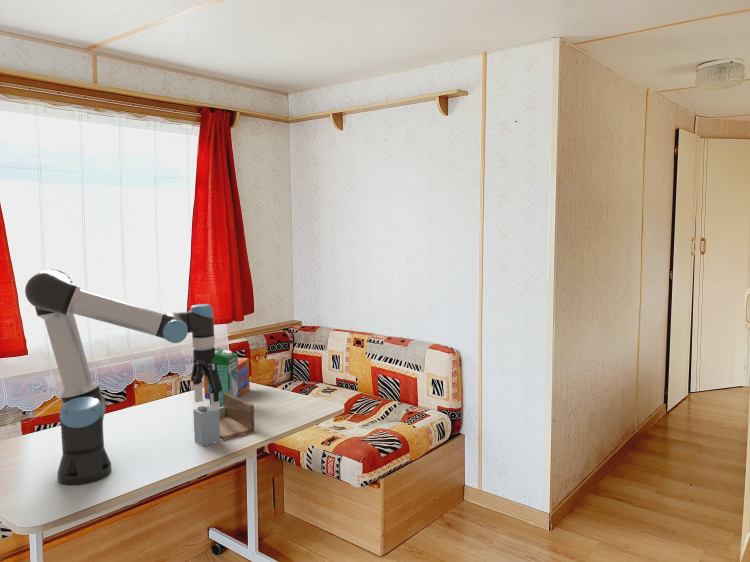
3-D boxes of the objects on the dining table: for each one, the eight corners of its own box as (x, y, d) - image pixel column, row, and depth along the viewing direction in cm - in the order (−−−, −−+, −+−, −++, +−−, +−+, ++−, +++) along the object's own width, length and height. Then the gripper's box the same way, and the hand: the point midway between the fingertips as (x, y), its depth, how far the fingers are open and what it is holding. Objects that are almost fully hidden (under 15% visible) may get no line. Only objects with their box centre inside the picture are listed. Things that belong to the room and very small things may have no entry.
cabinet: (201, 446, 204) (200, 410, 203) (194, 441, 209) (193, 406, 207) (220, 441, 209) (219, 406, 207) (212, 436, 213) (211, 402, 212)
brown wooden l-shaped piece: (222, 440, 209) (221, 412, 208) (196, 425, 226) (195, 399, 225) (254, 431, 218) (253, 404, 217) (227, 417, 234) (226, 392, 233)
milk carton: (230, 411, 242) (228, 352, 240) (210, 410, 244) (208, 352, 242) (239, 404, 251) (237, 348, 249) (220, 403, 253) (218, 347, 250)
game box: (219, 388, 276) (218, 356, 274) (250, 390, 273) (249, 357, 272) (204, 398, 261) (203, 364, 259) (236, 400, 258) (235, 366, 256)
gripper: (230, 351, 198) (233, 411, 201) (198, 341, 217) (201, 396, 219) (209, 355, 193) (212, 416, 196) (179, 344, 212) (182, 400, 214)
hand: (207, 405), depth 207 cm, fingers open, 13 cm apart
